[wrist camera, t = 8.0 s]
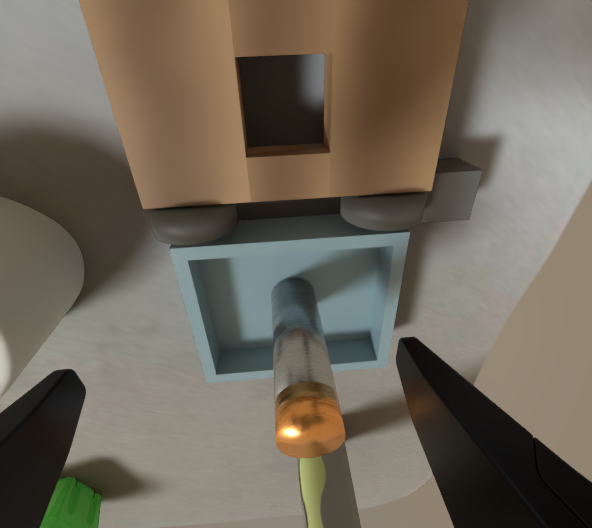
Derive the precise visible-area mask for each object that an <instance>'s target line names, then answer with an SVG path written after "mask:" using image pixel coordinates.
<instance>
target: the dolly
mask: <svg viewBox="0 0 592 528" xmlns="http://www.w3.org/2000/svg"><path fill="white" fill-rule="evenodd" d="M79 3H80V6H81V9H82V13H83V16H84V19H85V22H86V26H87V29H88V32H89V35H90V39H91V42H92V45H93V48H94V52H95V55H96V58H97V61H98V65H99V68H100V71H101V74H102V78H103V81H104V84H105V87H106V91H107V94H108V97H109V100H110V104H111V107H112V110H113V113H114V117H115V120H116V123H117V126H118V130H119V133H120V136H121V140H122V143H123V146H124V149H125V153H126V156H127V159H128V162H129V166H130V169H131V172H132V175H133V179H134V182H135V185H136V188H137V192H138V195H139V198H140V201H141V205H142V208H143V209H146V210H147V213H148V217H149V220H150V223H151V227H152V230H153V233H154V236H155V237H156V238H157V239H158V240H159V241H161V242H164V243H167V244H173V245H193V244H200V243H205V242H209V241H213V240H216V239H219V238H221V237H223V236H225V235H227V234H229V233H230V232H231V231H233V230H234V229H235V228H236V226H237V225H238V214H237V207H236V203H247V202H263V201H278V200H294V199H310V198H326V197H341V210H340V213H341V216H342V218H343V219H344V220H346V221H347V222H349V223H351V224H353V225H355V226H358V227H361V228H365V229H370V230H378V231H397V230H404V229H408V228H411V227H414V226H416V225H417V224H419V223H430V222H444V221H459V220H469V218H470V215H471V211H472V207H473V204H474V200H475V196H476V193H477V189H478V185H479V182H480V178H481V174H482V171H483V170H481V169H479V168H477V167H475V166H473V165H471V164H469V163H467V162H465V161H464V160H462V159H460V158H456V159H439V160H438V156H439V151H440V146H441V141H442V136H443V131H444V126H445V121H446V115H447V110H448V105H449V100H450V95H451V90H452V85H453V80H454V75H455V70H456V65H457V60H458V55H459V49H460V44H461V39H462V34H463V29H464V24H465V19H466V14H467V9H468V4H469V0H79ZM324 53H325V66H324V143H316V144H298V145H280V146H261V147H248V144H247V135H246V126H245V117H244V107H243V98H242V89H241V80H240V71H239V62H238V57H250V56H274V55H299V54H324Z"/></svg>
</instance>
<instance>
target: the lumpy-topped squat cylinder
mask: <svg viewBox="0 0 592 528" xmlns="http://www.w3.org/2000/svg"><path fill="white" fill-rule="evenodd" d="M83 283H84V260H83V256H82V253H81V250H80V248H79V246H78V244H77V243H76V241H75V240H74V239H73V237H72V236H71V235H70V234H69V233H68V232H67V231H66V230H65V229H64V228H63V227H62V226H61V225H59V224H58V223H57V222H55V221H54V220H52V219H51V218H49V217H47V216H46V215H44V214H42V213H40V212H38V211H36V210H34V209H32V208H30V207H28V206H25V205H23V204H21V203H18V202H16V201H13V200H10V199H7V198H4V197H0V398H1V397H2V396H3V395H4V394H5V393H6V392H7V390H8V389H9V388H10V386H11V385H12V384H13V383H14V381H15V380H16V379H17V377H18V376H19V375H20V373H21V372H22V371H23V369H24V368H25V367H26V365H27V364H28V363H29V362H30V360H31V359H32V358H33V356H34V355H35V354H36V352H37V351H38V350H39V348H40V347H41V346H42V345H43V343H44V342H45V341H46V339H47V338H48V337H49V335H50V334H51V333H52V331H53V330H54V329H55V328H56V326H57V325H58V324H59V322H60V321H61V320H62V318H63V317H64V316H65V315H66V313H67V312H68V311H69V309H70V308H71V307H72V305H73V304H74V302H75V301H76V299H77V297H78V296H79V294H80V292H81V289H82V287H83Z"/></svg>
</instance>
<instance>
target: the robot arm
mask: <svg viewBox="0 0 592 528" xmlns="http://www.w3.org/2000/svg"><path fill="white" fill-rule="evenodd" d="M396 364H397V368H398V372H399V375H400V379H401V383H402V386H403V390H404V394H405V397H406V401H407V405H408V408H409V412H410V415H411V418H412V421H413V424H414V427H415V429H416V432H417V434H418V437H419V439H420V442H421V444H422V447H423V449H424V452H425V454H426V457H427V460H428V462H429V465H430V467H431V470H432V472H433V475H434V477H435V480H436V482H437V485H438V487H439V490H440V492H441V495H442V498H443V500H444V502H445V505H446V508H447V510H448V513H449V515H450V518H451V520H452V523H453V525H454V528H592V482H591V481H589V480H588V479H587V478H585V477H584V476H582V475H581V474H580V473H579V472H577V471H576V470H575V469H574V468H572V467H571V466H570V465H569V464H567V463H566V462H565V461H563V460H562V459H561V458H560V457H559V456H557V455H556V454H555V453H554V452H552V451H551V450H550V449H549V448H548V447H546V446H545V445H544V444H543V443H542V442H540V441H539V440H538V439H537V438H533V436H532V434H531V433H529V432H528V431H527V430H526V429H525V428H524V427H522V426H521V425H520V424H519V423H518V422H516V421H515V420H514V419H513V418H512V417H510V416H509V415H508V414H507V413H506V412H504V411H503V410H502V409H501V408H500V407H498V406H497V405H496V404H495V403H494V402H492V401H491V400H490V399H489V398H488V397H486V396H485V395H484V394H483V393H482V392H480V391H479V390H478V389H477V388H476V387H474V386H473V385H472V384H471V383H470V382H468V381H467V380H466V379H465V378H464V377H462V376H461V375H460V374H459V373H458V372H456V371H455V370H454V369H453V368H452V367H450V366H449V365H448V364H447V363H446V362H445V361H443V360H442V359H441V358H440V357H439V356H437V355H436V354H435V353H434V352H433V351H431V350H430V349H429V348H428V347H427V346H425V345H424V344H423V343H422V342H421V341H419V340H418V339H417V338H415V337H405V338H400V340H399V343H398V349H397V355H396ZM85 395H86V389H85V386H84V384H83V383H82V381H81V380H80V378H79V377H78V375H77V374H76V372H75V371H74V370H72V369H63V370H56V371H54V372H52V373H51V374H50V375H48V376H47V377H46V378H44V379H43V380H42V381H41V382H39V383H38V384H37V385H36V386H34V387H33V388H32V389H30V390H29V391H28V392H27V393H25V394H24V395H23V396H22V397H20V398H19V399H18V400H16V401H15V402H14V403H13V404H11V405H10V406H9V407H8V408H6V409H5V410H4V411H2V412H1V413H0V528H40V526H41V523H42V521H43V518H44V516H45V513H46V511H47V508H48V506H49V503H50V500H51V498H52V495H53V493H54V490H55V488H56V485H57V483H58V480H59V478H60V475H61V472H62V470H63V467H64V465H65V462H66V460H67V457H68V454H69V451H70V448H71V445H72V442H73V438H74V435H75V431H76V428H77V424H78V420H79V417H80V413H81V410H82V406H83V403H84V399H85Z"/></svg>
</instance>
